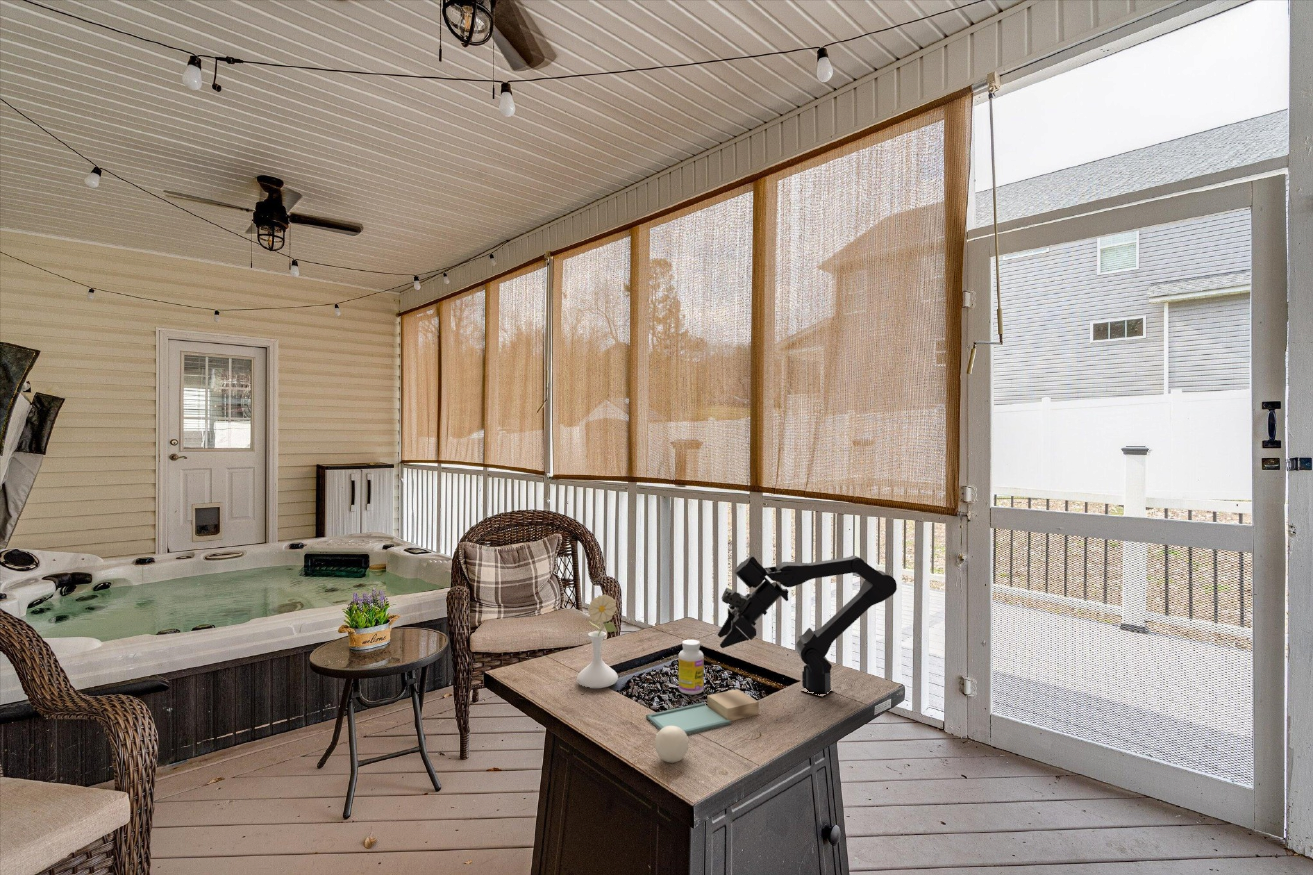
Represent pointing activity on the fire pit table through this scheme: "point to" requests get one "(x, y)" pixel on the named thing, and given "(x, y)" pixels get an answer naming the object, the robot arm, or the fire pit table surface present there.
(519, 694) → the fire pit table surface
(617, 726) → the fire pit table surface
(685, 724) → the tray
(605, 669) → the flower in vase
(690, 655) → the supplement bottle
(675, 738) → the cream white ball
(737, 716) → the block
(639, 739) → the fire pit table surface
